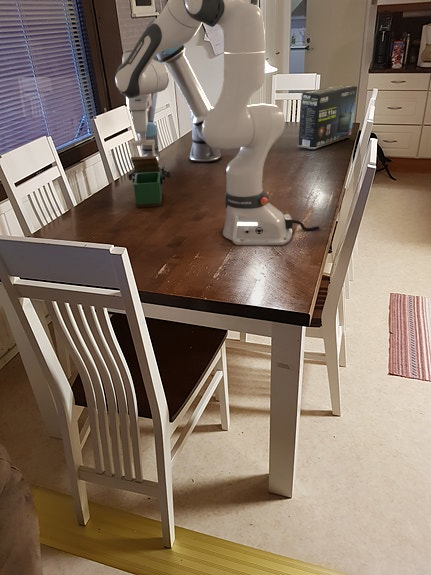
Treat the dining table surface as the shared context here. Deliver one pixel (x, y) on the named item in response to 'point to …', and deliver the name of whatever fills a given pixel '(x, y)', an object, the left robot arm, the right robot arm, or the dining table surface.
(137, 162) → the lid
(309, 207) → the dining table surface
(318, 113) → the router box
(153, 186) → the green box
